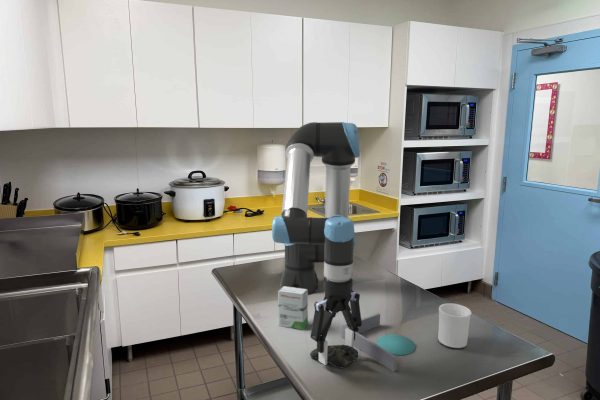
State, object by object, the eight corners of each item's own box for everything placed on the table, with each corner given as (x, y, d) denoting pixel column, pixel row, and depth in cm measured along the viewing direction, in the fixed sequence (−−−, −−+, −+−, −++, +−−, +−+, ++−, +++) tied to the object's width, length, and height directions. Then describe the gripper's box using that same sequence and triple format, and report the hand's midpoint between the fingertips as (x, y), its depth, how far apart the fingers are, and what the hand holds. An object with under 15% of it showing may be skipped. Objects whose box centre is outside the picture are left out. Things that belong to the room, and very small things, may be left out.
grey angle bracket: (342, 337, 125) (342, 325, 125) (377, 324, 134) (378, 312, 133) (393, 371, 109) (394, 357, 108) (431, 354, 117) (432, 341, 116)
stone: (315, 350, 119) (314, 333, 118) (360, 359, 114) (361, 341, 113) (306, 363, 113) (306, 344, 112) (354, 373, 108) (355, 354, 107)
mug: (465, 353, 117) (468, 319, 115) (433, 344, 122) (435, 312, 120) (472, 337, 126) (475, 305, 124) (442, 329, 131) (444, 298, 129)
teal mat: (368, 342, 123) (368, 341, 123) (394, 331, 129) (394, 330, 129) (396, 359, 114) (396, 358, 114) (423, 347, 120) (423, 346, 120)
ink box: (308, 323, 134) (308, 288, 132) (303, 330, 130) (303, 294, 127) (283, 319, 137) (283, 284, 135) (277, 325, 132) (277, 290, 130)
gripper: (314, 290, 99) (312, 377, 103) (377, 273, 111) (374, 351, 115) (296, 281, 105) (295, 362, 109) (358, 265, 117) (356, 340, 121)
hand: (336, 357), depth 112 cm, fingers closed on stone, 8 cm apart
